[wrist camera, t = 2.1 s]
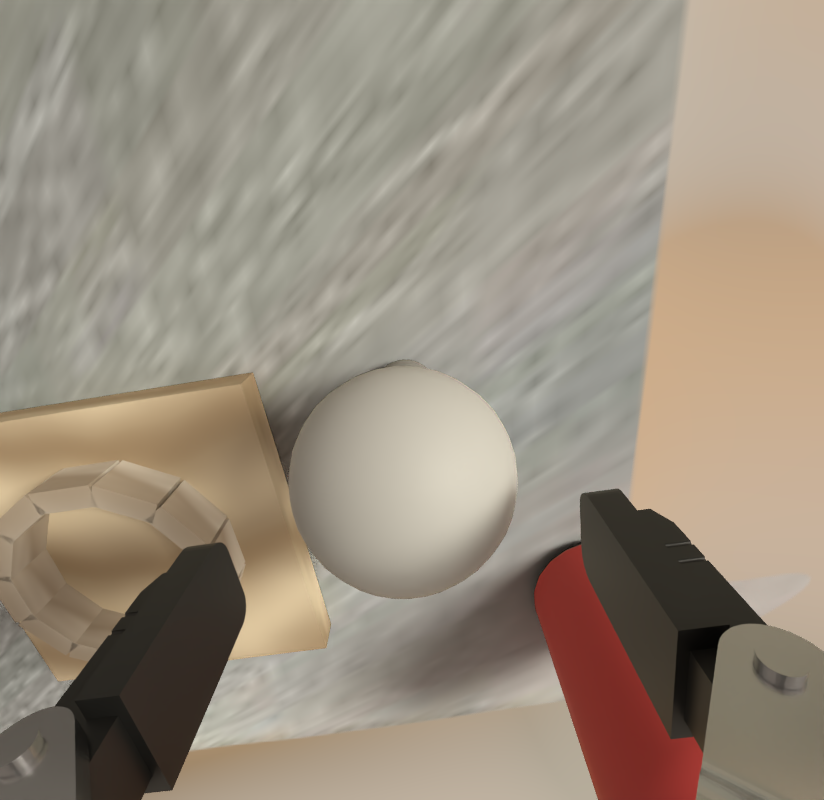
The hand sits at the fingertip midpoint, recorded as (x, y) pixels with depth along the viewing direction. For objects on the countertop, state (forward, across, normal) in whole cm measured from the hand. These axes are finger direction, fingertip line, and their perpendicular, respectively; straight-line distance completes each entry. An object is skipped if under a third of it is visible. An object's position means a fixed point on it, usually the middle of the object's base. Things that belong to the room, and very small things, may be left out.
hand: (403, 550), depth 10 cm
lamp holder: (+11, +14, +6) cm, 18 cm away
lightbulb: (+11, 0, -1) cm, 11 cm away
